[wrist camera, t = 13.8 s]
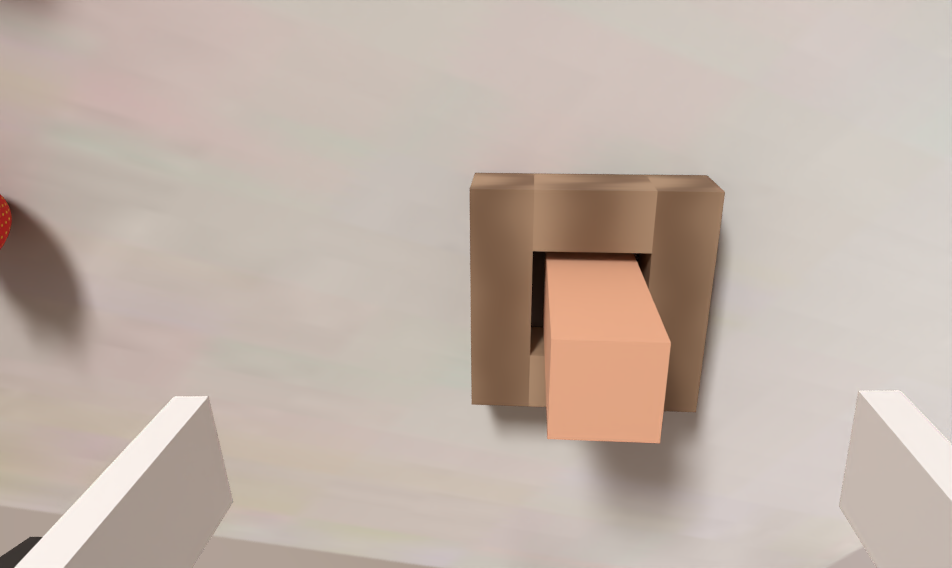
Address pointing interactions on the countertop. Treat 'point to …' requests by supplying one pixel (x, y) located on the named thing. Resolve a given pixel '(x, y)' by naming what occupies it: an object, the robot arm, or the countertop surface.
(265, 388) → the countertop surface
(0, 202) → the fruit
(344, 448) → the countertop surface
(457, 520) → the countertop surface
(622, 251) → the socket
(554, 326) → the peg
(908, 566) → the robot arm
